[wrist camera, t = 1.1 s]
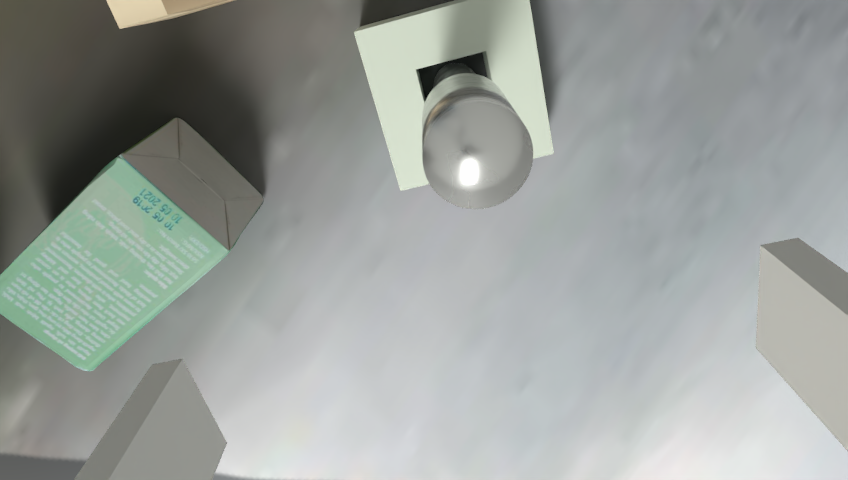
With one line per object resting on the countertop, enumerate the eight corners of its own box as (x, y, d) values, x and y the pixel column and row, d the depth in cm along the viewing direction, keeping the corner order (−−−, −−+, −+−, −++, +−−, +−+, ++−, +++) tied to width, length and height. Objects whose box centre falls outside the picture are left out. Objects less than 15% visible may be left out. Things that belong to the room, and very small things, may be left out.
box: (49, 243, 37) (-32, 304, 30) (177, 112, 33) (117, 148, 27) (139, 312, 40) (83, 382, 33) (268, 197, 36) (234, 250, 29)
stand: (359, 26, 31) (353, 32, 28) (517, -18, 30) (527, -16, 27) (402, 174, 35) (400, 190, 32) (543, 139, 34) (553, 153, 31)
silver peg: (413, 59, 32) (409, 118, 19) (481, 41, 31) (522, 89, 19) (430, 126, 34) (437, 219, 21) (495, 109, 33) (541, 195, 21)
